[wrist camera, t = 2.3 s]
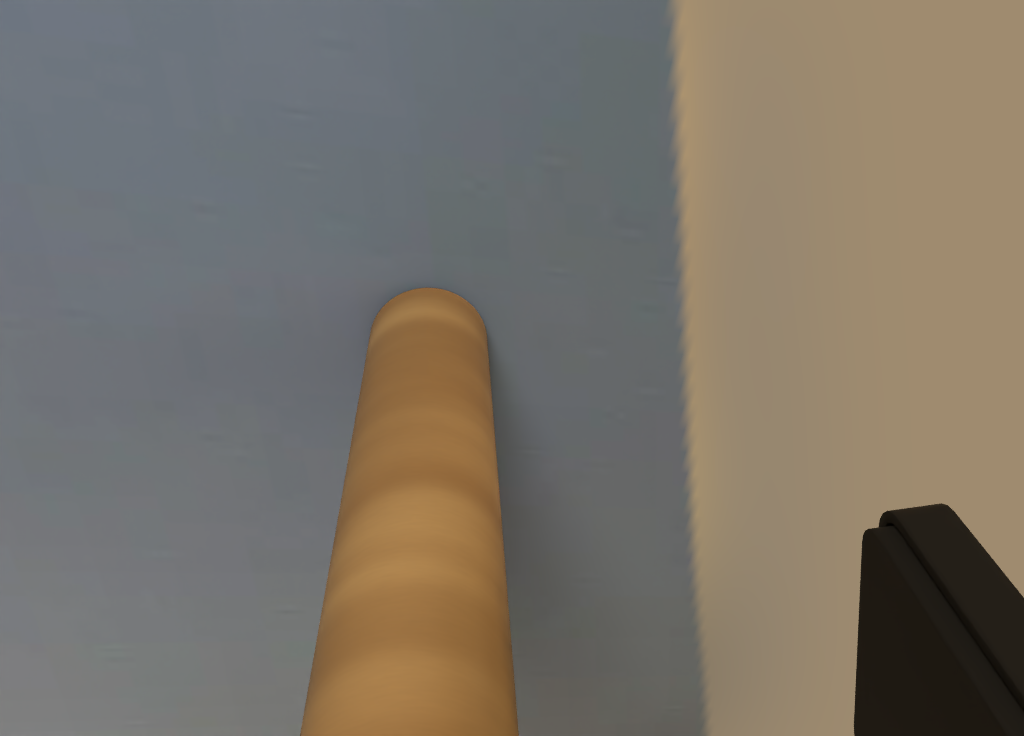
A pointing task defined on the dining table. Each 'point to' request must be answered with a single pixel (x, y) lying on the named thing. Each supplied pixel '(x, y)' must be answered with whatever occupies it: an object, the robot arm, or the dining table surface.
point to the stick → (418, 541)
